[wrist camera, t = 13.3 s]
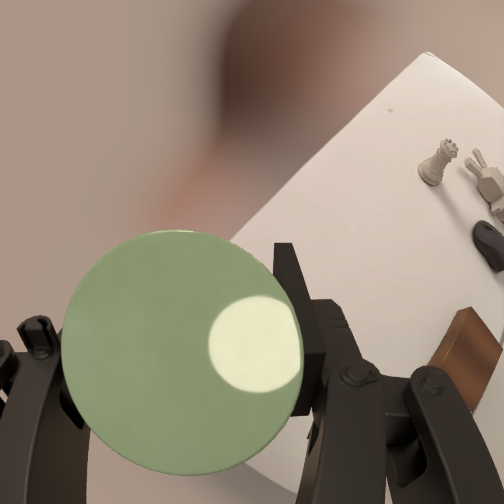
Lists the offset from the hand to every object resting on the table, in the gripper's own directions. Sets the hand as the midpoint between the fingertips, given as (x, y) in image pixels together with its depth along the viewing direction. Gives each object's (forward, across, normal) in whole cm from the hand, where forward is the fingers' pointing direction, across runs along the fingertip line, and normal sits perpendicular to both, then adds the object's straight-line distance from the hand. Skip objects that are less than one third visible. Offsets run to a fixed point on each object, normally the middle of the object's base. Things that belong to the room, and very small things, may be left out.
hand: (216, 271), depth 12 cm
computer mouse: (+19, -40, +6) cm, 45 cm away
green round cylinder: (0, 0, +5) cm, 5 cm away
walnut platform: (+7, -29, +18) cm, 35 cm away
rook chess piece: (+28, -30, -3) cm, 41 cm away
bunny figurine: (+27, -46, -2) cm, 53 cm away
